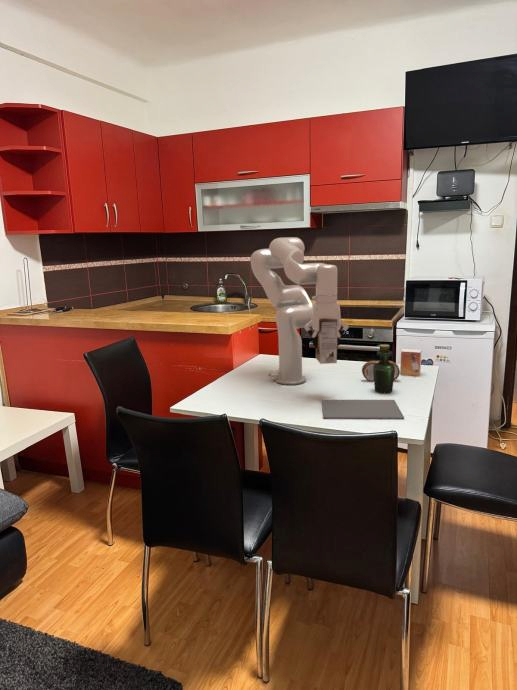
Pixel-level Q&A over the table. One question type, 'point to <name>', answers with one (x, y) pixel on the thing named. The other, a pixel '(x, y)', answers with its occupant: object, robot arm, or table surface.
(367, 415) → the mat
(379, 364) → the potion bottle
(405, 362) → the small box
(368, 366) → the tin
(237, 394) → the table surface
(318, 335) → the coffee box
